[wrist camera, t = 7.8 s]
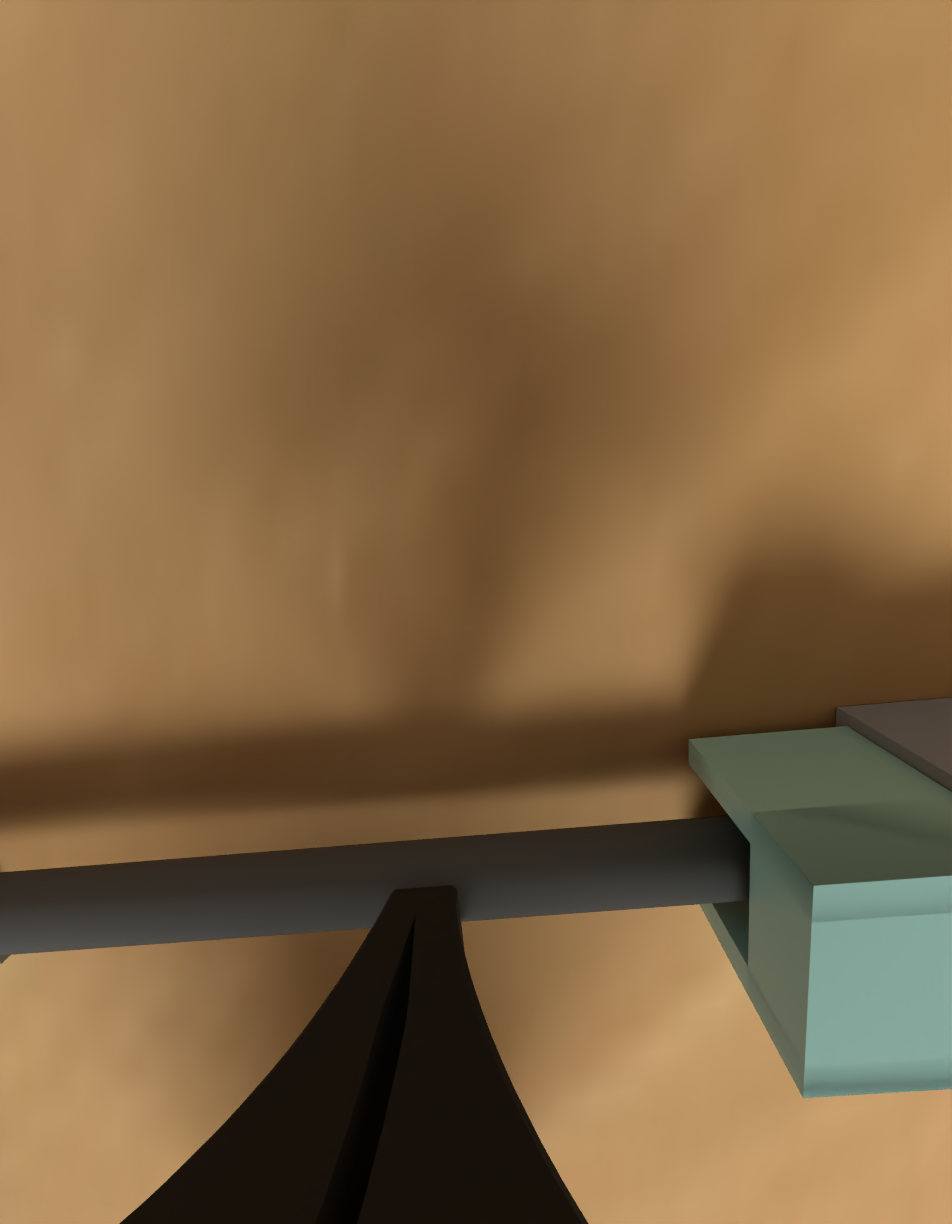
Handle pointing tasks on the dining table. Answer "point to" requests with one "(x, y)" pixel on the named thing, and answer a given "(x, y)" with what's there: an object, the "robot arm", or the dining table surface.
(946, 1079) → the sleeve
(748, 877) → the grey long bar
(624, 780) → the dining table surface
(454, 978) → the robot arm
